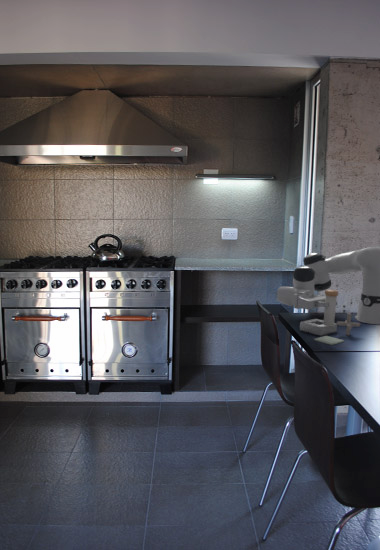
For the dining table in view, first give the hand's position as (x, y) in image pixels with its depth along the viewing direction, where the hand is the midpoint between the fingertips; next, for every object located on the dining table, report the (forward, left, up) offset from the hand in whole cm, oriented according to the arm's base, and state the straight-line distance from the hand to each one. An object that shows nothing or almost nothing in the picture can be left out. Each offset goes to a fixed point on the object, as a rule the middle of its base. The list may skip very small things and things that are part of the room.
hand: (332, 304), depth 193 cm
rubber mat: (0, -1, -16) cm, 16 cm away
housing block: (-10, -14, -16) cm, 24 cm away
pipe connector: (-16, -2, -17) cm, 23 cm away
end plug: (0, -1, -9) cm, 9 cm away
